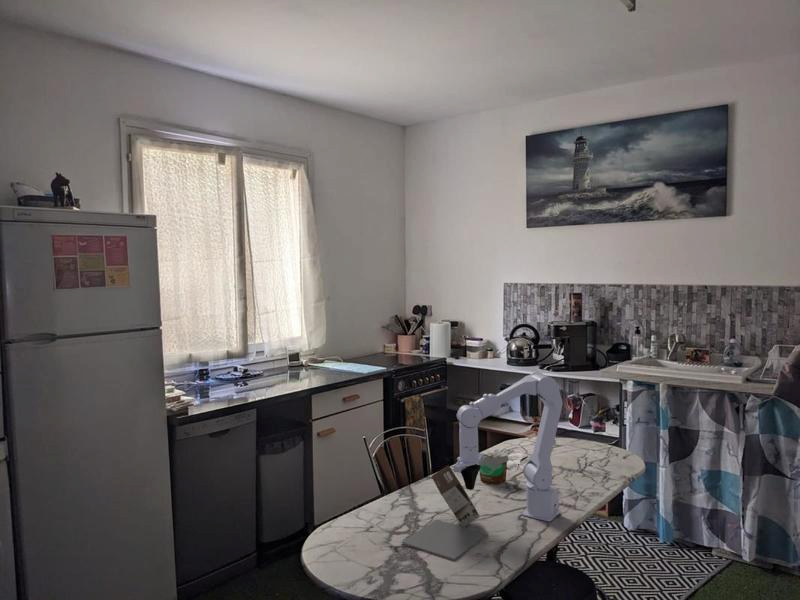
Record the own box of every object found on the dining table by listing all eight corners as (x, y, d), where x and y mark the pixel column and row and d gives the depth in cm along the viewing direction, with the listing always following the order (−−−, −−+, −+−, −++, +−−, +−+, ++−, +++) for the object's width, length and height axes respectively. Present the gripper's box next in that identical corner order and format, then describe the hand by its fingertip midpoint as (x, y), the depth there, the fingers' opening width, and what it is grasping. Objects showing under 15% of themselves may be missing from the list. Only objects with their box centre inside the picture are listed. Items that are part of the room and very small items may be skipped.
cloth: (514, 451, 250) (514, 446, 250) (543, 458, 240) (542, 452, 240) (476, 468, 232) (476, 462, 232) (505, 475, 222) (505, 470, 222)
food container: (471, 483, 214) (470, 456, 214) (477, 477, 220) (476, 451, 219) (504, 487, 209) (503, 459, 208) (509, 481, 214) (508, 454, 214)
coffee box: (480, 516, 178) (459, 483, 171) (462, 528, 178) (440, 495, 171) (469, 496, 186) (448, 463, 179) (452, 507, 186) (430, 475, 179)
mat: (487, 535, 172) (487, 533, 172) (454, 561, 158) (454, 558, 158) (436, 521, 184) (436, 519, 183) (401, 544, 169) (401, 542, 169)
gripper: (470, 437, 190) (471, 479, 190) (444, 449, 178) (446, 493, 179) (489, 440, 185) (490, 483, 186) (464, 453, 174) (466, 498, 175)
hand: (470, 488), depth 182 cm, fingers closed
